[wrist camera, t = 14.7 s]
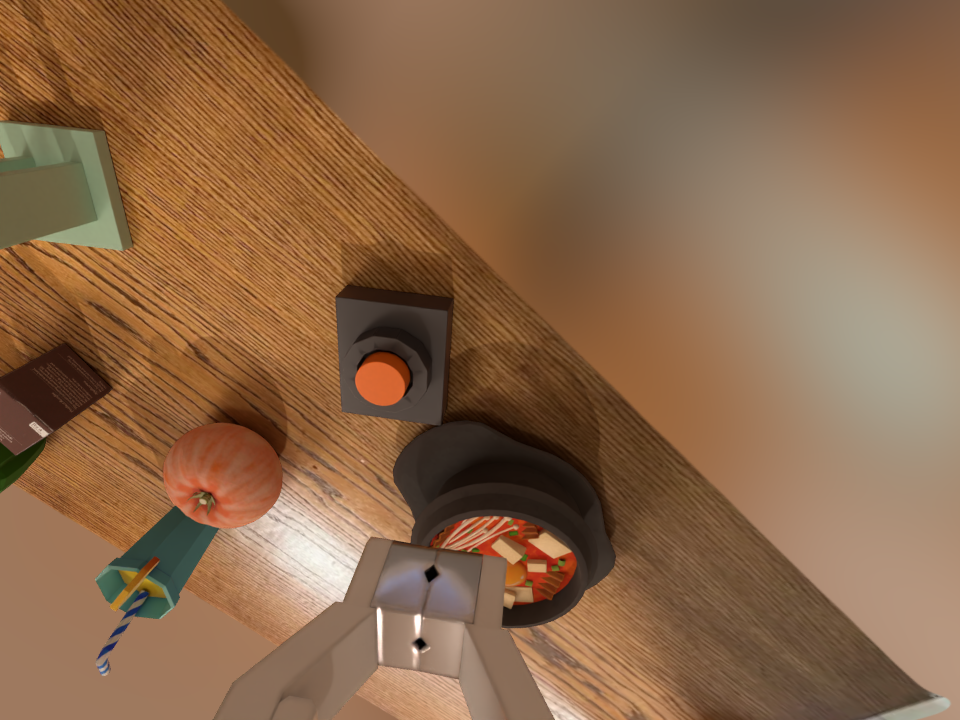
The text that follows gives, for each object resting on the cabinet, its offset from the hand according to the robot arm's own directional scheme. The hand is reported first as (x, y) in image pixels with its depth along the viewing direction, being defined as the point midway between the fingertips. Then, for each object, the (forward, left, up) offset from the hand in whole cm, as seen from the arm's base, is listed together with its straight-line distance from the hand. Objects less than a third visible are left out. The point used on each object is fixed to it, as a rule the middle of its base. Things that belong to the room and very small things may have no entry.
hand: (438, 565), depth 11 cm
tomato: (+26, -25, -31) cm, 48 cm away
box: (+20, -42, -31) cm, 56 cm away
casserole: (+28, +2, -31) cm, 42 cm away
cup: (+37, -32, -31) cm, 58 cm away
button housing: (+12, -9, -31) cm, 34 cm away
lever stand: (+1, -36, -31) cm, 48 cm away
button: (+12, -9, -27) cm, 31 cm away
